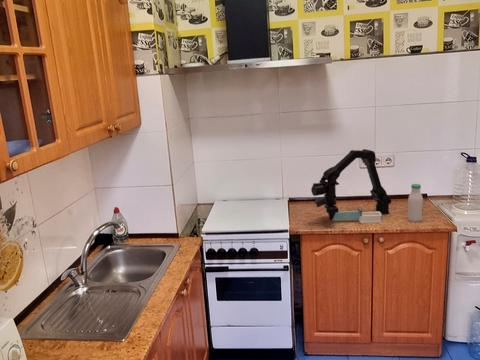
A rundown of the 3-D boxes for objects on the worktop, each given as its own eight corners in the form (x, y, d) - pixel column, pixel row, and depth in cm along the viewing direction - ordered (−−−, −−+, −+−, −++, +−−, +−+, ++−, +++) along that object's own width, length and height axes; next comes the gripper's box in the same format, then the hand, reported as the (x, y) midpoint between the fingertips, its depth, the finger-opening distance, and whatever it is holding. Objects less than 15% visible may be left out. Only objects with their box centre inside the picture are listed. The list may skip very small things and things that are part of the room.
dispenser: (379, 217, 239) (379, 205, 237) (382, 222, 231) (382, 210, 229) (357, 218, 240) (357, 206, 238) (360, 223, 232) (360, 211, 230)
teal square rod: (358, 218, 237) (358, 210, 236) (359, 219, 235) (359, 211, 234) (329, 219, 238) (329, 211, 237) (330, 220, 236) (330, 213, 235)
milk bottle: (421, 222, 227) (422, 187, 222) (406, 221, 231) (407, 185, 226) (423, 218, 233) (425, 183, 228) (408, 216, 237) (409, 182, 233)
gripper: (314, 189, 243) (314, 214, 247) (317, 198, 225) (317, 226, 229) (333, 188, 242) (334, 214, 246) (338, 197, 224) (338, 225, 228)
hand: (330, 219), depth 237 cm, fingers closed on teal square rod, 2 cm apart
